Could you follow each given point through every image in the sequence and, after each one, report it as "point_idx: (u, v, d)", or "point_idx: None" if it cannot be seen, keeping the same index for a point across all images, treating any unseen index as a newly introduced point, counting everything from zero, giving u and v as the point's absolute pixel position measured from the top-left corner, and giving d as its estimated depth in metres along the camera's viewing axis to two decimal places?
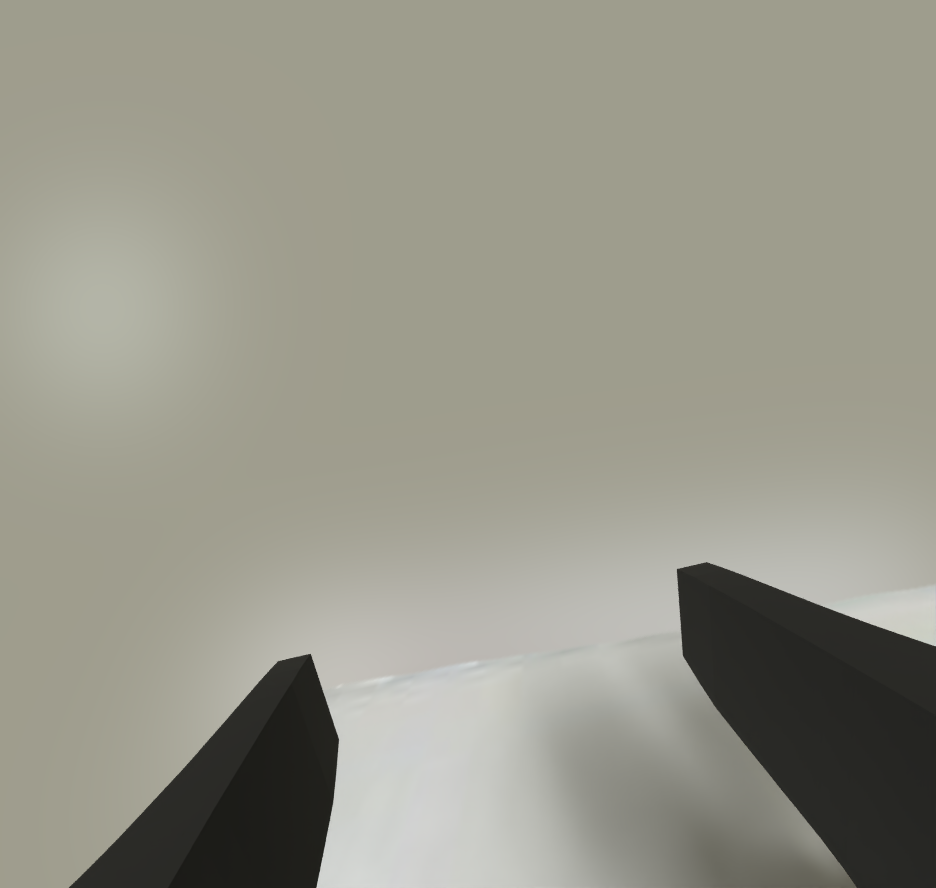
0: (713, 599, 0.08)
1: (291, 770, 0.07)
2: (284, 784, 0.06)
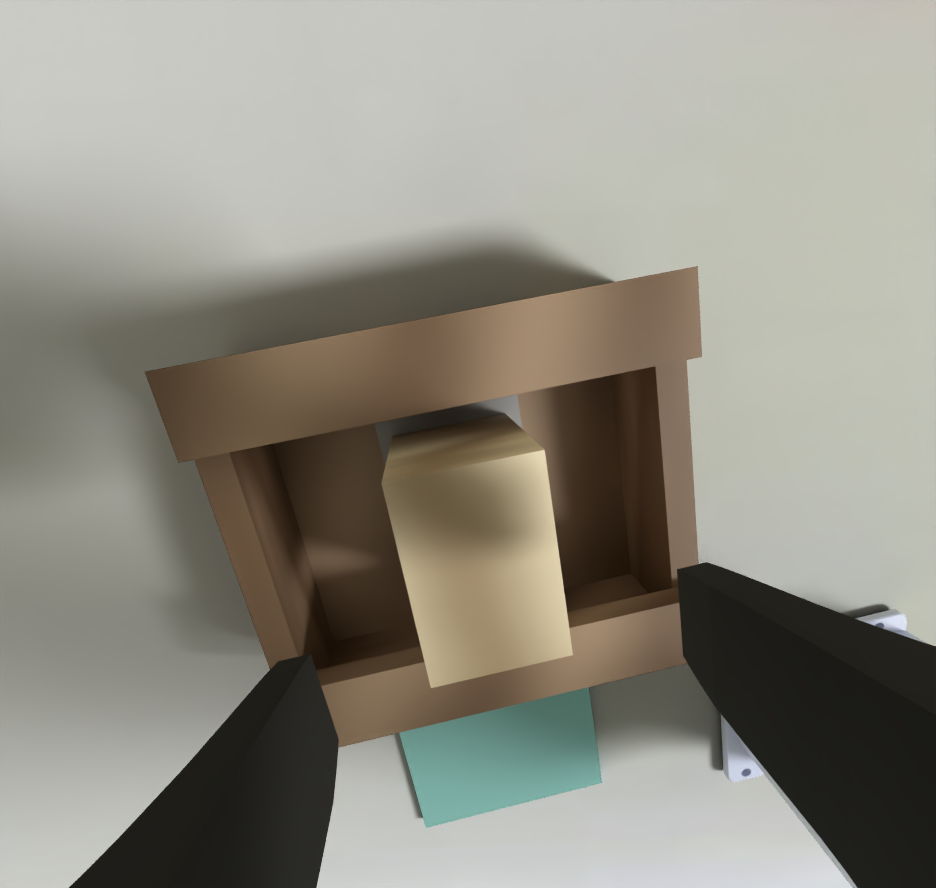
0: (713, 599, 0.08)
1: (291, 770, 0.07)
2: (284, 784, 0.06)
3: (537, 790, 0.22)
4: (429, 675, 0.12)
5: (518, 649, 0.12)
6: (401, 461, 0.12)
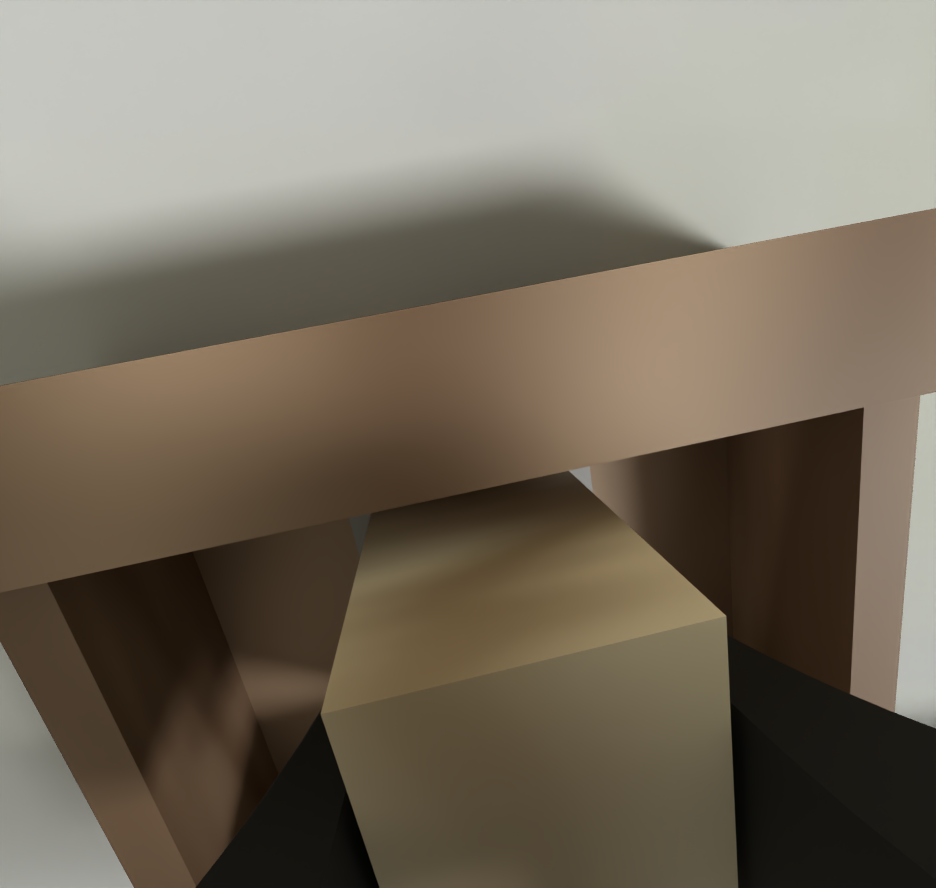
0: None
1: None
2: None
3: None
4: None
5: None
6: (379, 606, 0.06)
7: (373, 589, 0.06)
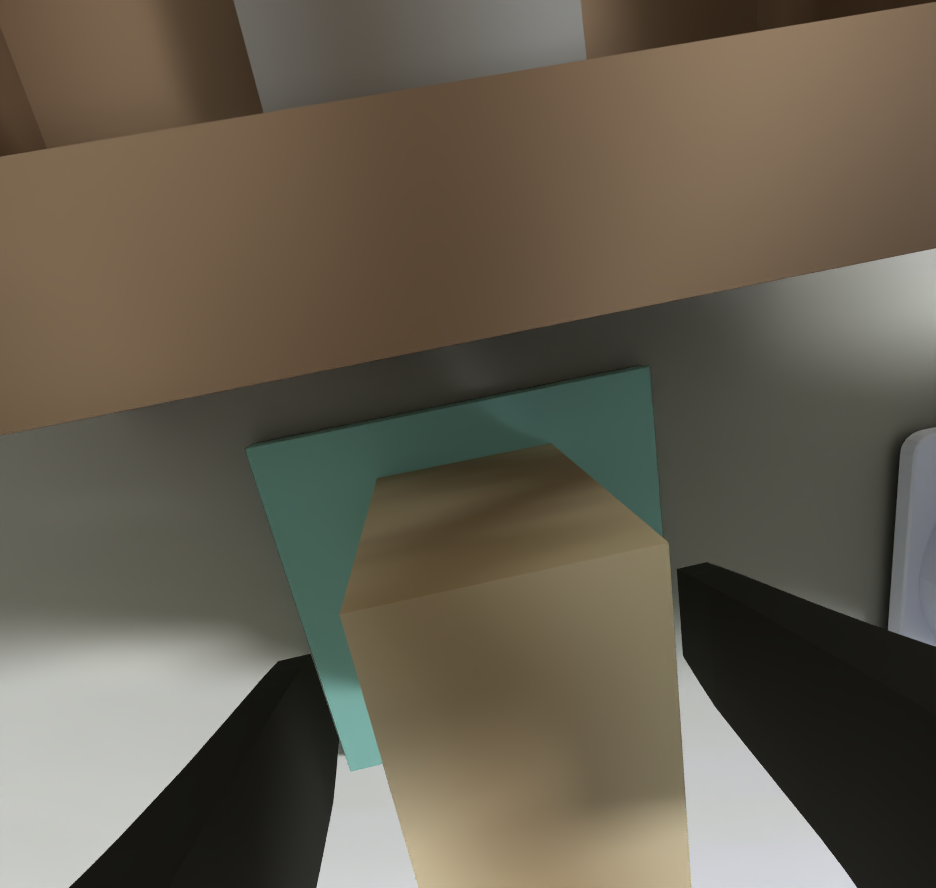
0: (713, 599, 0.08)
1: (291, 770, 0.07)
2: (284, 784, 0.06)
3: None
4: None
5: (596, 885, 0.07)
6: (385, 545, 0.07)
7: (379, 534, 0.07)
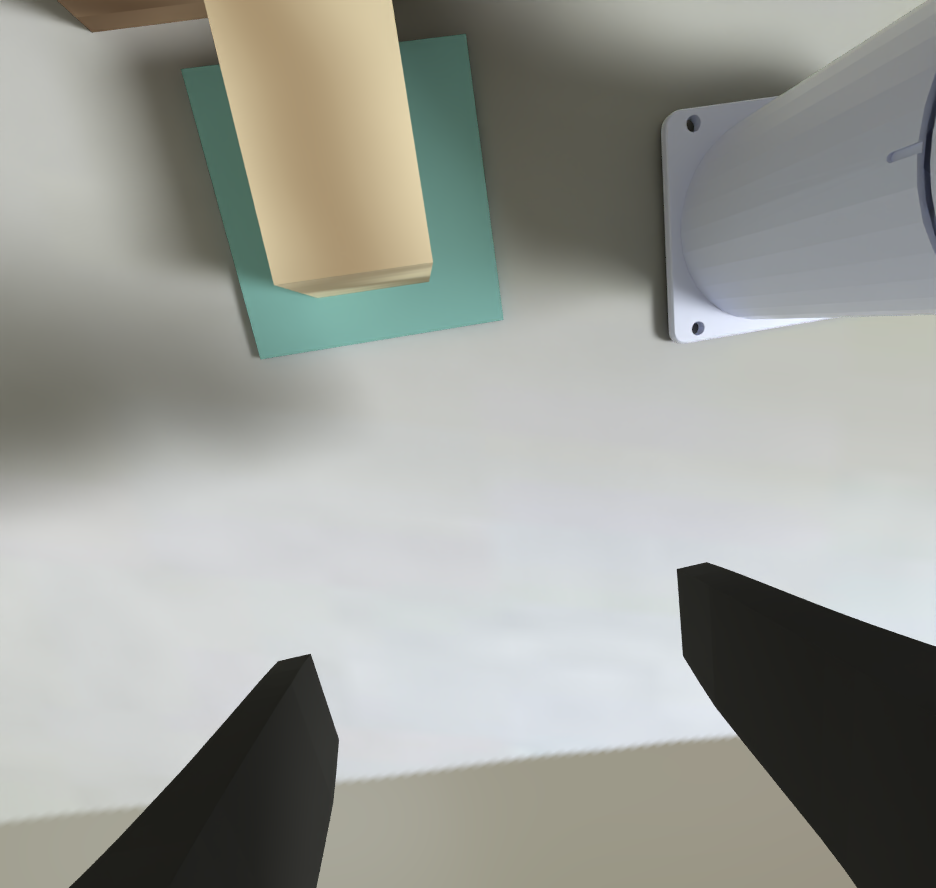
0: (713, 599, 0.08)
1: (291, 770, 0.07)
2: (283, 784, 0.06)
3: (414, 318, 0.17)
4: (271, 267, 0.11)
5: (370, 245, 0.11)
6: None
7: None
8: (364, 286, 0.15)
